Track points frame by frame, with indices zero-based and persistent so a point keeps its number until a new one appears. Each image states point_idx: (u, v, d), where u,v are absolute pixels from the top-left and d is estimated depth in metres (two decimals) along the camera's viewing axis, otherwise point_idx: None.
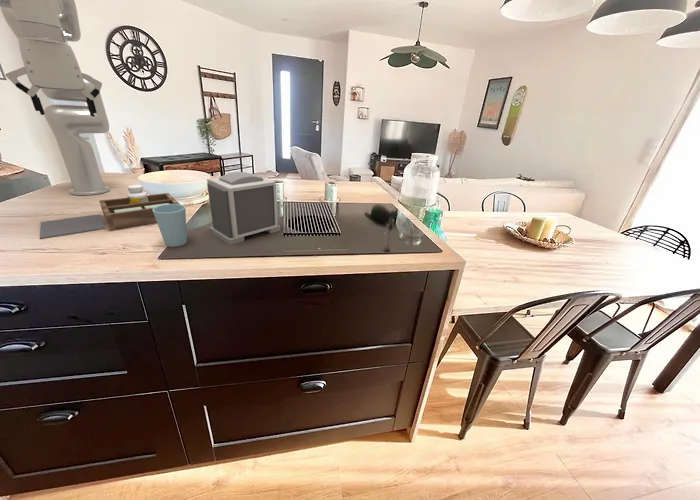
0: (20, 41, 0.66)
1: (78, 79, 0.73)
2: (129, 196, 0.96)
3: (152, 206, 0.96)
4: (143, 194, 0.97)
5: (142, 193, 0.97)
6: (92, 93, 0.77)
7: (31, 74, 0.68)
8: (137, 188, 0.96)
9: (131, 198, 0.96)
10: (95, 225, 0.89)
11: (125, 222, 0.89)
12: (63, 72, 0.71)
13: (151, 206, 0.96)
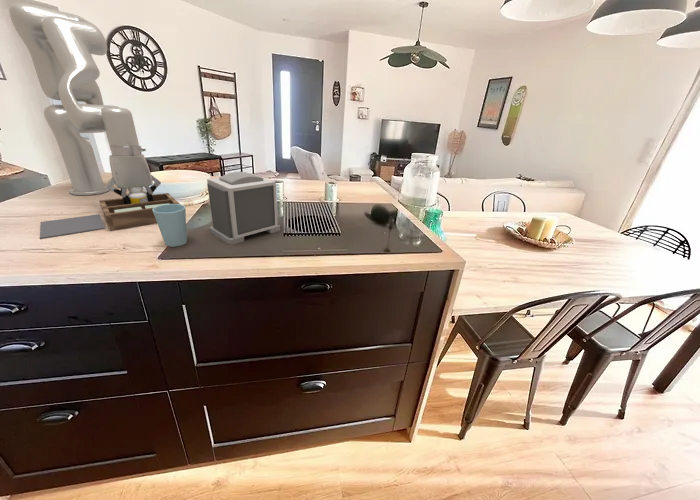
0: (111, 159, 0.89)
1: (148, 178, 0.96)
2: (129, 196, 0.96)
3: (152, 206, 0.96)
4: (143, 194, 0.97)
5: (142, 193, 0.97)
6: (151, 189, 0.99)
7: (117, 180, 0.91)
8: (137, 188, 0.96)
9: (131, 198, 0.96)
10: (95, 225, 0.89)
11: (125, 222, 0.89)
12: (139, 175, 0.94)
13: (151, 206, 0.96)
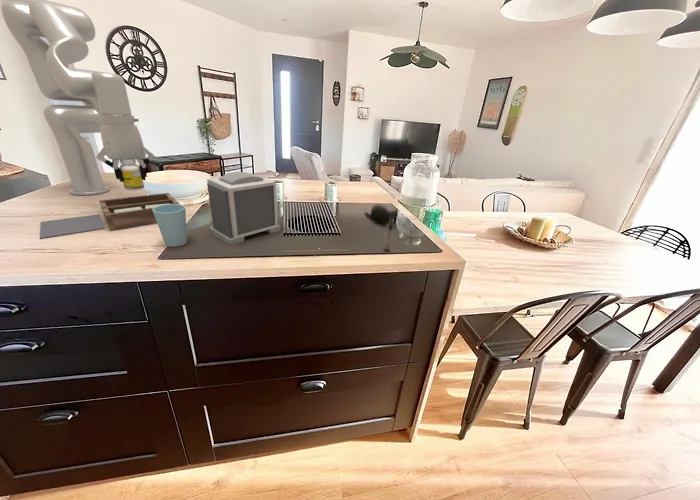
0: (102, 127, 0.85)
1: (141, 150, 0.93)
2: (121, 168, 0.92)
3: (152, 206, 0.96)
4: (136, 167, 0.94)
5: (135, 166, 0.94)
6: (144, 162, 0.96)
7: (109, 151, 0.88)
8: (129, 160, 0.92)
9: (124, 170, 0.92)
10: (95, 225, 0.89)
11: (125, 222, 0.89)
12: (131, 147, 0.91)
13: (151, 206, 0.96)
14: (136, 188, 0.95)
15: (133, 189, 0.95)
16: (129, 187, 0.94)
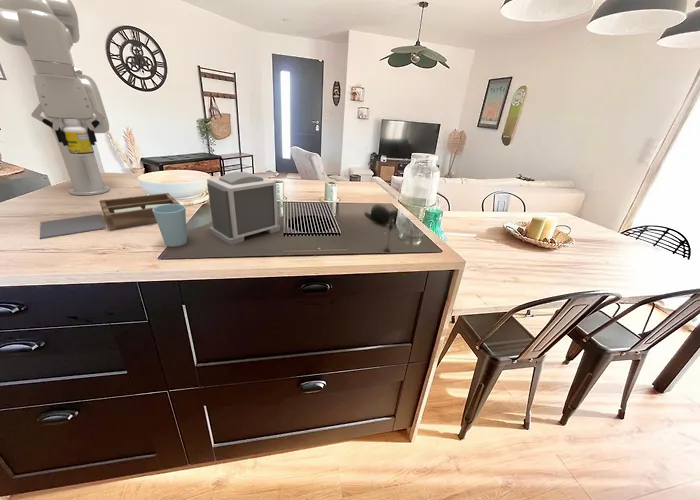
0: (36, 78, 0.73)
1: (87, 109, 0.80)
2: (63, 130, 0.79)
3: (152, 206, 0.96)
4: (82, 129, 0.81)
5: (81, 127, 0.81)
6: (92, 124, 0.83)
7: (45, 106, 0.75)
8: (73, 120, 0.79)
9: (66, 132, 0.79)
10: (95, 225, 0.89)
11: (125, 222, 0.89)
12: (74, 104, 0.78)
13: (152, 206, 0.96)
14: (84, 154, 0.83)
15: (80, 155, 0.82)
16: (74, 152, 0.82)
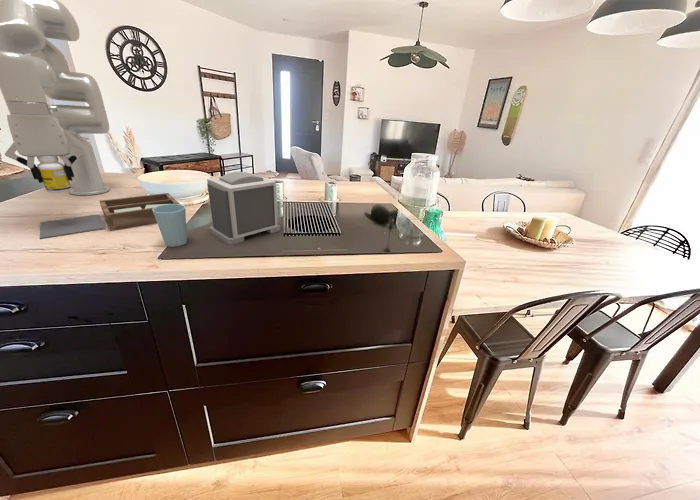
0: (8, 118, 0.72)
1: (63, 146, 0.79)
2: (38, 167, 0.78)
3: (153, 206, 0.96)
4: (58, 165, 0.80)
5: (56, 164, 0.80)
6: (69, 160, 0.82)
7: (19, 146, 0.74)
8: (48, 157, 0.78)
9: (41, 169, 0.78)
10: (95, 225, 0.89)
11: (125, 222, 0.89)
12: (49, 141, 0.77)
13: (152, 205, 0.96)
14: (60, 190, 0.81)
15: (56, 191, 0.81)
16: (50, 188, 0.80)
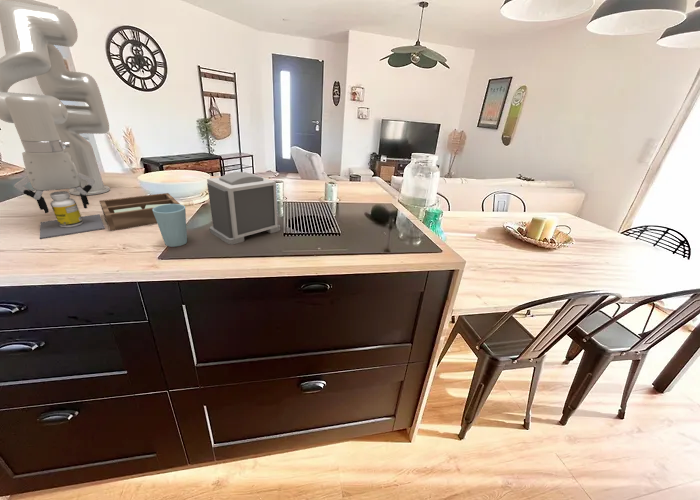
0: (24, 156, 0.76)
1: (74, 179, 0.83)
2: (52, 205, 0.83)
3: (152, 206, 0.96)
4: (70, 202, 0.85)
5: (69, 201, 0.84)
6: (85, 189, 0.86)
7: (33, 181, 0.78)
8: (61, 195, 0.83)
9: (55, 207, 0.83)
10: (95, 225, 0.89)
11: (125, 222, 0.89)
12: (61, 176, 0.81)
13: (151, 205, 0.96)
14: (72, 224, 0.86)
15: (69, 226, 0.86)
16: (63, 224, 0.85)
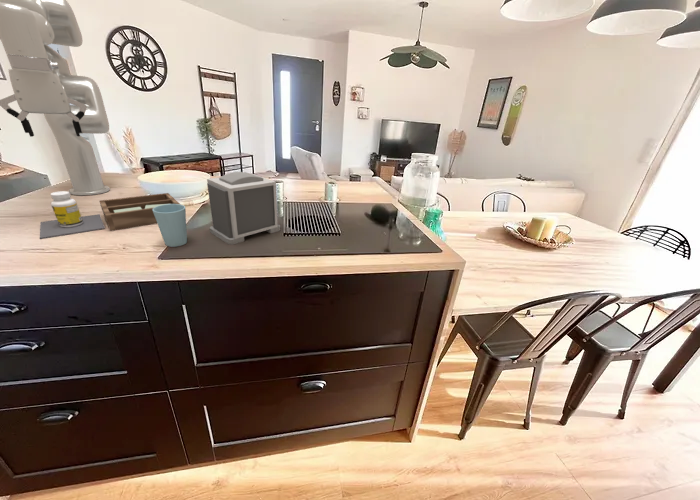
0: (10, 72, 0.72)
1: (64, 104, 0.80)
2: (52, 205, 0.83)
3: (152, 206, 0.96)
4: (70, 202, 0.85)
5: (69, 201, 0.85)
6: (77, 115, 0.84)
7: (20, 101, 0.75)
8: (62, 195, 0.83)
9: (55, 206, 0.83)
10: (95, 225, 0.89)
11: (125, 222, 0.89)
12: (50, 98, 0.78)
13: (151, 206, 0.96)
14: (72, 224, 0.86)
15: (69, 226, 0.86)
16: (63, 224, 0.85)
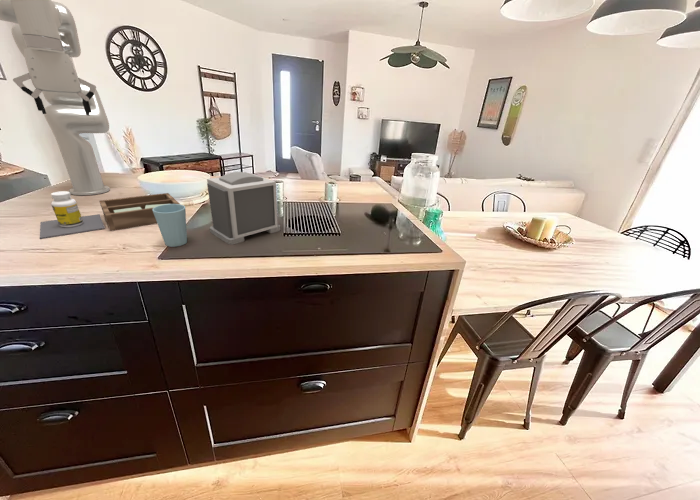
0: (25, 51, 0.77)
1: (75, 83, 0.84)
2: (53, 204, 0.83)
3: (152, 206, 0.96)
4: (71, 202, 0.85)
5: (69, 201, 0.85)
6: (87, 95, 0.88)
7: (34, 79, 0.79)
8: (62, 195, 0.83)
9: (56, 206, 0.83)
10: (95, 225, 0.89)
11: (125, 222, 0.89)
12: (62, 77, 0.82)
13: (151, 206, 0.96)
14: (72, 225, 0.86)
15: (69, 226, 0.86)
16: (63, 223, 0.85)
